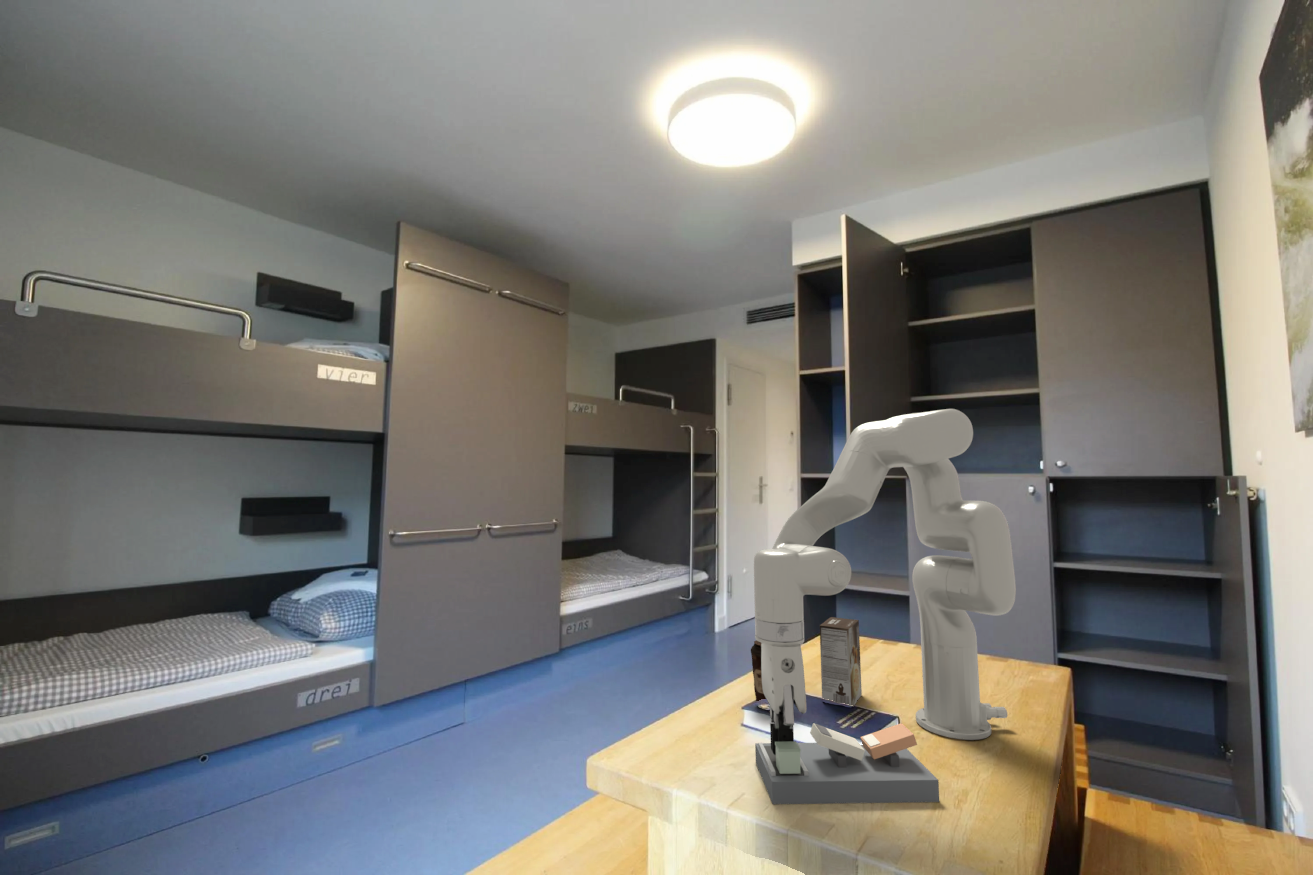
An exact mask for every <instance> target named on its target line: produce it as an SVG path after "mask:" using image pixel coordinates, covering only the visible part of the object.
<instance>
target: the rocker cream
mask: <svg viewBox="0 0 1313 875" xmlns="http://www.w3.org/2000/svg"><path fill="white" fill-rule="evenodd" d="M809 733H810V735H811V737H812V738H813V739H814V741H815V743H817V744H818V745H820V746H823V747H826V748H828V749H831V750H834V751H837V752H839V753H842V754H845V755H847V756H850V757H853V758H856V759H858V760H861V761H862V758H863V755H864V752H865V750H864V749H863V747H862V746H861V745H860V744H859V743H858V742H859V741H858V740H857V739H856V738H855V737H852V736H850V735H847V734H844V733H841V732H838V731H836V730H833V729H830V728H828V727H825V726H823V725H821V724H818V723H812V725H811V729H810V732H809Z"/></svg>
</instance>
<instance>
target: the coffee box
mask: <svg viewBox="0 0 1313 875" xmlns="http://www.w3.org/2000/svg"><path fill="white" fill-rule="evenodd" d="M860 640H861V639H860V620H859V619H854V618H852V619H851V618H842V617H835V616H831V617H829V618H827V619H826V620H825V621H824V622H822V623H821V624H819V643H820V644H819V647H820V650H819V651H820V672H821V674H820V677H821V699H822V698H824V699H829V700H833V701H835V702H838V703H845V704H849V705H854V706H855V705H856V703H858V701H859V699H860V698H861V696H862V694H863V692H862V672H861V671H862V670H861V668H862V667H861V648H860V647H861V645H860V643H861V642H860ZM857 700H858V701H857Z"/></svg>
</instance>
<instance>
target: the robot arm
mask: <svg viewBox="0 0 1313 875" xmlns="http://www.w3.org/2000/svg"><path fill="white" fill-rule="evenodd" d="M972 424H973V423H972V422H971V420H970V419H969V417H968V416H967V415H966V414H965V413H964V412H962V411H960V410H959V409H955V408H946V409H937V410H930V411H923V412H922V411H921V412H912V413H907V414H906V413H904V414H901V415H896V416H892V417H889V418H887V419H883V420H874V421H869V422H865V423H862V424H860V425H858V426H857V427H855V428H854V429H853V430H852V432H850V435H849V437H848V438H847V440H846V442H845V444H844V447H843V448H842V451H841V452H840V454H839V456H838V459H837V461H836V463H835V466H834V467H833V468H832V469H833V470H832V471H831V473H830V475H829V476H828V479H827V481H826V483H825V485H824V486H823V487H822V488H821V489H820V490H819V491H818V492H816V493H815V494H814V495H812V496H811V497H810V498H809V499H808V500H806V501H805V502H804V503H803V504H802V505H801V506H800V507H799V508H797V509H796V510H794V512H793V513H792V514H791V516H789V518H788V519H787V520H786V521H785V523H784V524H783V526H782V529H781V530H780V532H779V534H778V536H777V538H776V540H775V542H774V544H773V546H772V548H768V549H767V548H766V549H762V550H759V551H757V552H756V553H755V555H754V558H753V585H754V586H753V588H754V590H753V591H754V592H753V594H754V597H753V598H754V629H755V630H754V632H755V633H754V639H755V641H756V640H757V641H759V642H761V643H762V645H761V673H762V688H763V693H764V695H765V697H766V699H767V701H768V703H769V704H770V711H769V713H770V714H769V716H770V718H769V719H770V722H771V723H769V724H770V725H769V726H770V727H769V728H770V743H771V750H772V752H773V754H774V755H776V745H775V742H789V741H795V739H794V726H795V716H794V711H795V710H794V708H795V707H796V709H797V710H798V713H800V714H801V715H803V714H805V713H806V712H807V711H808V710H807V696H806V695H807V694H806V693H807V692H806V682H805V681H806V680H805V669H804V660H803V659H804V658H803V651H802V647H801V646H802V645H801V644H803V643H804V642H805V622H804V621H805V620H804V597H805V595H809V596H810V595H811V596H823V597H826V596H834V595H837V594H840V593H841V592H843V591H844V590H845V589H846V588H847V587H848V585H849V583H850V581H851V579H852V567H851V566H852V565H851V564H850V562H849V560H848V559H847V557H846V556H845V555H844V554H843V553H841V552H839V551H838V550H835V549H833V548H831V547H830V548H829V547H823V546H815V544H816V543H817V541H818V539H820V537H821V536H823V535H824V534H825V533H827V532H829V531H830V530H832V529H833V528H835V527H837V526H840V525H842V524H845V523H848V522H851V521H852V520H854V519H857V518H859V517H861V516H863V515H865V514H867V513H868V512H870V511H871V509H872V508H873V506H874V503H875V501H876V499H877V497H878V495H879V492H880V489H881V488H882V486H883V484H884V481H885V479H886V477H887V474H888V472H889V471H890V470H891V469H892V468H903V469H904V471H905V472H906V473H907V476H908V479H909V481H910V488H911V489H910V490H911V496H912V505H913V506H912V507H913V516H914V523H915V531H916V534H917V537H918V540H919V541H920V543H921V544H922V545H924V546H926V547H928V548H932V549H935V550H942V551H950V552H962V553H963V552H964V553H970V556H971V558H965V557H959V556H951V555H942V554H941V555H937V554H936V555H927V556H924V557H923V558H921V559H919V560H918V561H917V562H916V564H915V565H914V567H913V570H912V577H911V579H912V586H913V590H914V594H915V598H916V603H917V608H918V615H919V624H920V625H919V628H920V644H921V645H920V647H921V648H920V649H921V668H922V670H921V671H922V672H921V673H922V688H923V689H922V690H923V691H922V692H923V708H920V709H918V710H917V711H916V712H915V721H916V722H917V724H919V726H920V727H921V728H923V729H925V730H927V731H929V732H931V733H934V734H935V735H939V736H941V737H942V736H943V737H946V738H950V739H956V740H963V741H964V740H966V741H974V740H975V741H977V740H985V739H986V738H989V736H991V734H992V726H991V724H990V722H989V721H990V720H991V719H992V718H994V719H1007V718H1008V711H1007V709H1006V707H1005V706H992V705H991V703H989V702H988V703H984V702H982V701H981V693H980V692H981V691H980V680H979V679H980V676H979V658H978V638H977V632H976V628H975V625H974V623H973V621H972V619H971V617H970V616H969V614H968V612H971V613H972V612H973V613H975V614H983V615H989V616H1002V615H1005V614H1008V613H1009V612H1010V611H1011V610H1012V608H1013V607H1014V604H1015V601H1016V592H1017V589H1016V588H1017V587H1016V575H1015V567H1014V556H1013V548H1012V540H1011V531H1010V527H1009V523H1008V520H1007V518H1006V516H1005V514H1004V513H1003V511H1002V510H1001V509H1000V507H999V506H997V505H996V504H994V503H991V502H989V501H986V500H984V501H983V500H966V499H965V500H964V499H963V497H962V492H961V486H960V479H959V475H958V474H959V473H958V471H957V469H956V467H955V466H954V464H953V462H952V461H951V460H950V459H952V458H955V457H957V456H960V455H962V454H963V453H965V452H966V451H967V449H969V447H970V446H971V445H972V441H973V438H974V429H973V425H972ZM794 706H795V707H794Z"/></svg>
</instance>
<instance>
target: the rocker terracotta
mask: <svg viewBox="0 0 1313 875" xmlns="http://www.w3.org/2000/svg"><path fill="white" fill-rule="evenodd" d="M915 736H916V735H915V734H914V733H913V732H912V731H911V730H910V729H909V728H907V726H906V725H904V724H903V723H901V722H900V723H898V724H895V725H892V726H889V727H886V728H883V729H881V730H880V729H879V730H877V731H875V732H871V733H868V734H865V735H863V736H860V740H861V742H862V744H863V747H864V748H865V750H866V751H867V752H868V753H869V754H870V755H871V757H872V758H873V759H877V758H880V757H883V756H886V755H889V754H892V753H895V752H898V751H901V750H904V749H906V748H907V749H909V748H912V747H915V746H917V745H918V743H917V739H916V737H915Z"/></svg>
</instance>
